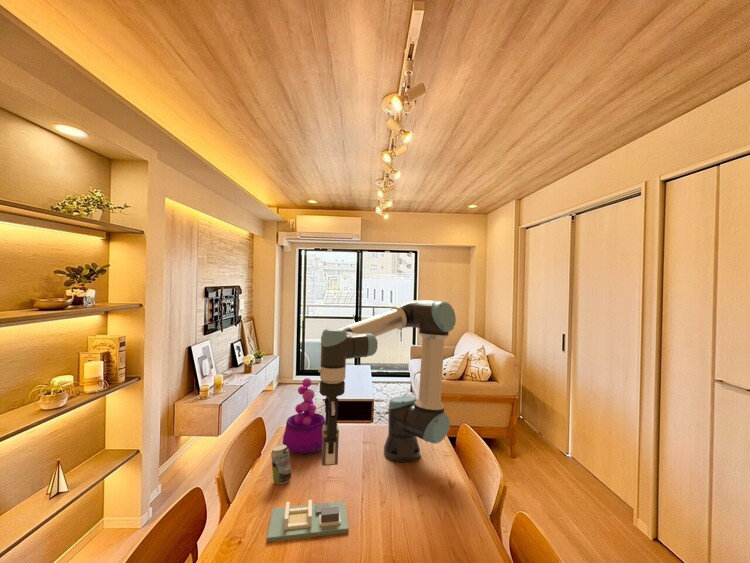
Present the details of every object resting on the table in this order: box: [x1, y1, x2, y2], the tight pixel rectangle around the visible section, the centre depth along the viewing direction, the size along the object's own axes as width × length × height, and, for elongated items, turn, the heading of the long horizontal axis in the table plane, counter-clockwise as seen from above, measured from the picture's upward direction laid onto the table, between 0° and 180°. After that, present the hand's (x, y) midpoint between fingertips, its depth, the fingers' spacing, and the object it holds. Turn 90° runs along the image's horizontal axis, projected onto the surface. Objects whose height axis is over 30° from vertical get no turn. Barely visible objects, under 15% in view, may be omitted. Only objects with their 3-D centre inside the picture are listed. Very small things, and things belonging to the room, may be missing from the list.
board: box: [266, 499, 350, 543], centre depth 96 cm, size 22×12×4 cm, turn 101°
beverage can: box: [270, 444, 292, 485], centre depth 117 cm, size 6×7×12 cm
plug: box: [321, 423, 340, 467], centre depth 99 cm, size 5×5×10 cm
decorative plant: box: [282, 377, 326, 455], centre depth 141 cm, size 19×19×30 cm
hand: (329, 458), depth 98 cm, fingers closed on plug, 4 cm apart
